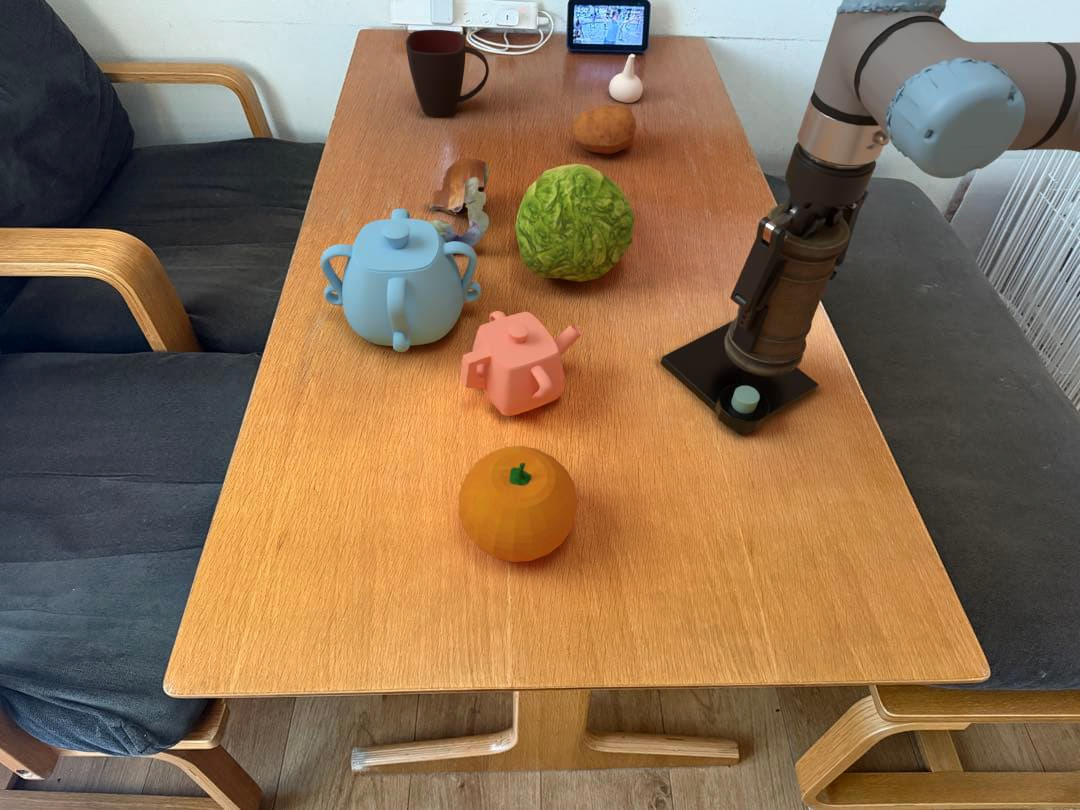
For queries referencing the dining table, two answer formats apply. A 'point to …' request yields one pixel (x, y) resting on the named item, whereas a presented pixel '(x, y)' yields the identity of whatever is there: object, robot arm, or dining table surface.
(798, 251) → the container
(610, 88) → the garlic bulb
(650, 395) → the dining table surface
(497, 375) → the teapot
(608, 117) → the potato
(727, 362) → the scale
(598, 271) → the lettuce
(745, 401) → the button
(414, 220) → the decorative pot
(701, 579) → the dining table surface
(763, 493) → the dining table surface
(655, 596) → the dining table surface
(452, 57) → the mug
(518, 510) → the fruit
